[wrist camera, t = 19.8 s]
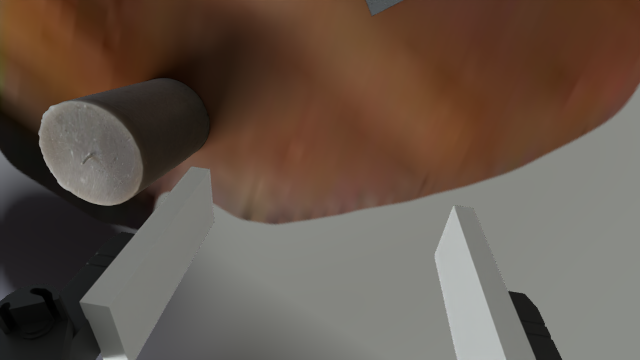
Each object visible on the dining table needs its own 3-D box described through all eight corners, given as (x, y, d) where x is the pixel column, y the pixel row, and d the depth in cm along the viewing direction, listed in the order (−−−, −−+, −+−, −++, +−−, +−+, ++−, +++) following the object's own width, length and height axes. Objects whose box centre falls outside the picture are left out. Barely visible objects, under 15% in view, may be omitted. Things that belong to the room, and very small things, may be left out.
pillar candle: (225, 119, 42) (157, 163, 28) (180, 171, 46) (100, 233, 32) (159, 58, 40) (52, 74, 27) (118, 118, 44) (5, 159, 30)
